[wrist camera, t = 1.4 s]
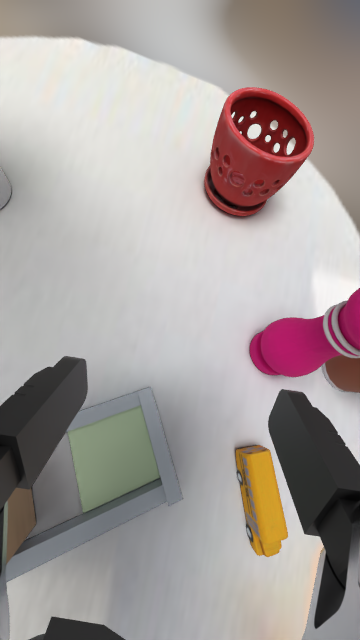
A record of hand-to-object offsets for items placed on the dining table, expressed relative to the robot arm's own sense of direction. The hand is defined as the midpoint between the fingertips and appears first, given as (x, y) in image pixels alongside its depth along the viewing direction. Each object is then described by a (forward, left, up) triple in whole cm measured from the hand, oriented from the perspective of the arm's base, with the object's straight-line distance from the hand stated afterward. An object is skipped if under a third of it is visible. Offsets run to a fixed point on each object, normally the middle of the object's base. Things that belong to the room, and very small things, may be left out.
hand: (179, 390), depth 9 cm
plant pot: (-12, +34, -19) cm, 41 cm away
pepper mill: (+9, +15, -19) cm, 26 cm away
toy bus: (+17, 0, -19) cm, 25 cm away
